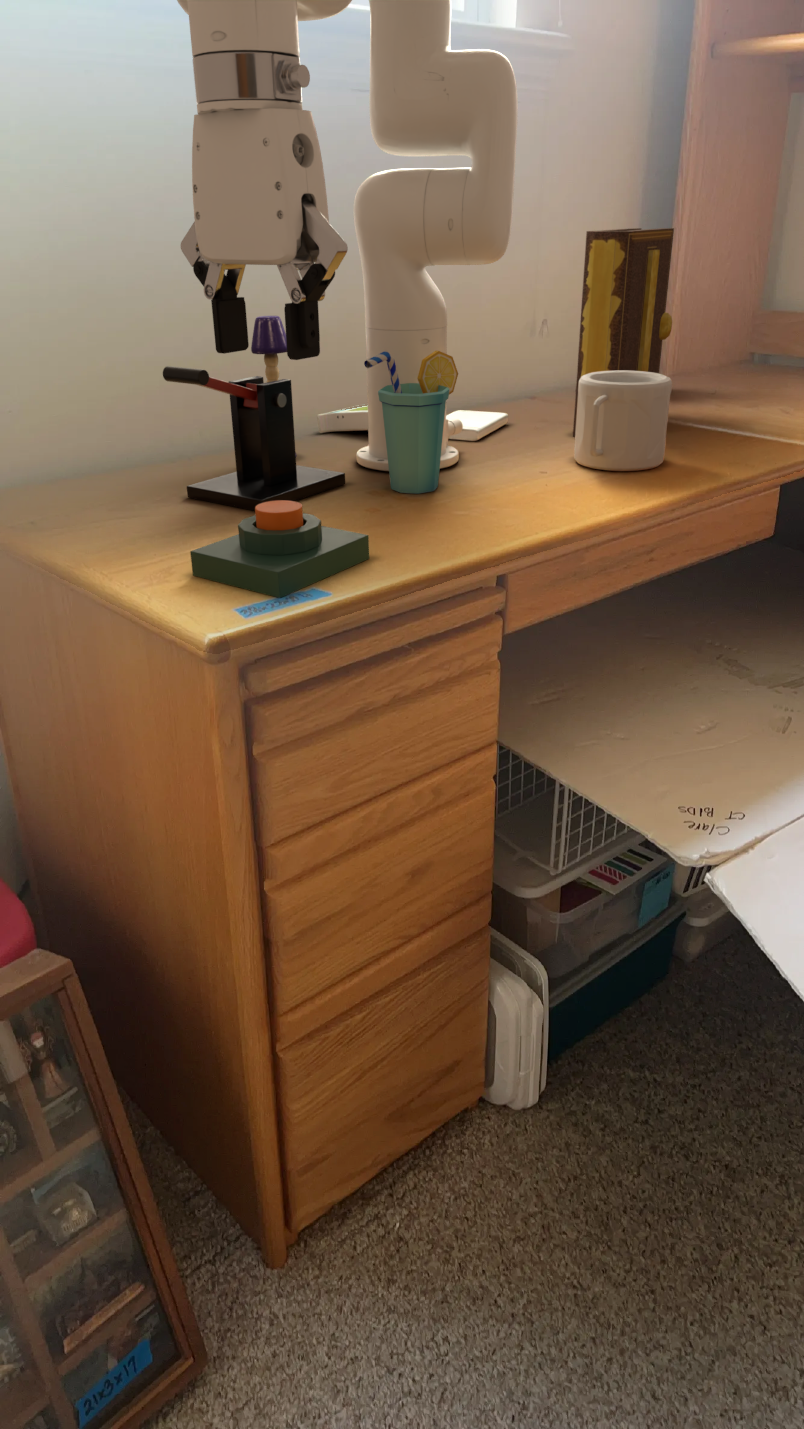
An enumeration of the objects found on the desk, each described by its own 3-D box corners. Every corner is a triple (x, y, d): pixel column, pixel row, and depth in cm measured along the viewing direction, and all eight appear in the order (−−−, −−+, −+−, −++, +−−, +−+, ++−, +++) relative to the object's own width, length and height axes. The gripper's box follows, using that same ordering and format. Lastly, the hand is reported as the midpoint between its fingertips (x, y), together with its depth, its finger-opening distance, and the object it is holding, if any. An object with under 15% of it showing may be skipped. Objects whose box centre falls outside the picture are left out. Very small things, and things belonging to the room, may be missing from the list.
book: (621, 441, 130) (639, 231, 119) (560, 435, 134) (572, 231, 123) (667, 413, 147) (687, 227, 136) (612, 409, 151) (627, 227, 140)
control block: (285, 540, 93) (282, 498, 91) (369, 558, 88) (368, 514, 86) (192, 575, 84) (187, 530, 83) (280, 598, 79) (276, 550, 77)
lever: (196, 388, 94) (200, 362, 94) (160, 384, 97) (164, 359, 96) (285, 414, 105) (288, 391, 105) (251, 409, 108) (254, 387, 107)
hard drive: (455, 409, 144) (421, 424, 134) (508, 412, 141) (478, 428, 131) (455, 421, 145) (421, 436, 135) (508, 424, 142) (477, 441, 132)
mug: (596, 448, 126) (602, 367, 122) (676, 458, 121) (686, 373, 116) (547, 470, 117) (552, 382, 112) (633, 481, 111) (641, 389, 107)
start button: (278, 517, 87) (276, 497, 86) (312, 524, 85) (311, 504, 84) (246, 528, 84) (245, 508, 83) (282, 535, 82) (280, 515, 81)
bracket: (262, 512, 102) (252, 394, 96) (187, 497, 107) (174, 385, 102) (345, 484, 112) (341, 375, 106) (273, 471, 118) (266, 368, 112)
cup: (399, 508, 102) (397, 356, 96) (342, 497, 107) (336, 351, 100) (473, 481, 112) (476, 341, 105) (418, 472, 116) (418, 337, 110)
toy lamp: (253, 460, 123) (241, 317, 116) (271, 452, 127) (260, 313, 119) (286, 463, 122) (277, 318, 114) (304, 455, 125) (295, 314, 118)
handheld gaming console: (400, 409, 128) (315, 412, 137) (403, 431, 129) (318, 433, 138) (449, 397, 136) (365, 401, 145) (451, 418, 137) (368, 421, 146)
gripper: (378, 85, 68) (383, 356, 76) (200, 102, 77) (222, 343, 85) (308, 75, 63) (322, 368, 71) (125, 95, 72) (156, 353, 80)
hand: (267, 352), depth 78 cm, fingers open, 6 cm apart
